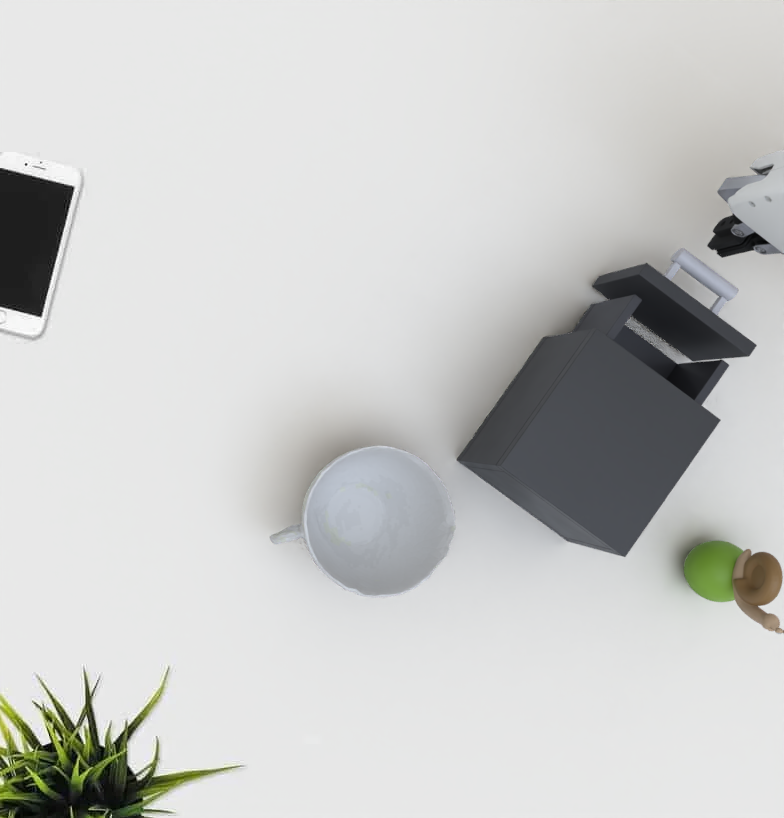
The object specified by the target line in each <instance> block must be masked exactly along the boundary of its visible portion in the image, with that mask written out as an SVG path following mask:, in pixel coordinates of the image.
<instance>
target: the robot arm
mask: <svg viewBox="0 0 784 818" xmlns="http://www.w3.org/2000/svg"><path fill="white" fill-rule="evenodd" d="M749 169H750V170H751V171H753V172H754V173H755V174H754V175H743V176H731V177H726V178H725V179H724V181H723V183H722V184H721V185H720V187H718V189H717V190H716V191H717V194H718V196H719V197H721V198H722V199H723V201H724V202H725V203H726V204H727V205H728V207H729V210H730V211H731V214H732V215H728V216H726V217H725V216H724V217H723V218H722V219H720V220H719V221H718V222H717V224H716V225H715V226H714V227H713V228H712V233H713V234H714V235H713V237H712V238H711V239H710V240H709V242H708V243H707V245H706V246H707V248H708V249H710V250H711V251H716V255H718V256H719V257H720V258H727V257H731V256H734V255H738V254H744V253H748V252H752V251H755V253H757V254H760V255H764V256H765V255H766V256H768V255H777V254H781V255H784V148H783V149H780V150H777V151H774V152H771V153H768V154H765V155H762V156H760V157H758V158H756V159H755V160H754V161H753V162H752V164H751V165H750V166H749Z"/></svg>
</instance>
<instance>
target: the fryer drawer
mask: <svg viewBox="0 0 784 818" xmlns="http://www.w3.org/2000/svg"><path fill="white" fill-rule="evenodd" d="M670 261H671V264H670V265H669V267H668V268H667V269H666V271H665V272H664V274H663V273H661V272H660V271H658V270H657V269H656V268H654V267H653V266H651V264H649V263H648V262H645V263H641V264H638V265H634V266H631V267H627V268H624V269H623V268H622V269H620V270H616V271H612V272H609V273H605V274H601V275H598V277H597V278H596V280H594V282H593V283H592V285H591V287H592V288H593V289H594V290H596V291H597V292H599V293H600V294H601V295H603V296H604V297H605V298H607V299H608V300H604V301H598V302H594V303H591V304H590V305H589V306H588V308H587V310H586V311H585V312H584V314H583V315H582V316H581V318H580V320H579V321H578V322H577V324H576V325H575V326H574V328H573V329H572V331H571V332H577V331H583V330H589V329H596V328H598V329H599V330H600V331H602V332H603V333H604V334H606V335H607V336H608V337H610V338H611V339H612V340H614V341H615V342H616V343H618V344H619V345H620V346H622V347H623V348H625V349H626V350H627V351H629V352H630V353H631V354H633V355H634V356H635V357H637V358H638V359H639V360H641V361H642V362H643V363H645V364H646V365H647V366H649V367H650V368H652V369H653V370H654V371H656V372H657V373H658V374H660V375H661V376H662V377H664V378H665V379H666V380H668V381H669V382H670V383H672V384H673V385H674V386H676V387H677V388H678V389H680V390H681V391H683V392H684V393H685V394H687V395H688V396H689V397H691V398H692V399H693V400H695V401H696V402H697V403H699V404H700V405H701V406H703V404H704V403H705V401H706V400H707V399H708V397H709V396H710V394H711V393H712V391H713V390H714V389H715V387H716V385H717V384H718V383H719V381H720V380H721V379H722V377H723V376H724V374H725V373H726V372H727V370H728V369H729V367H730V364H729V363H728V362H726V361H725V359H726V360H727V359H736V358H747V357H750V356H751V355H752V354H753V352H754V350H755V349H756V348H757V344H756V343H755V342H754V341H752V340H750V338H748V337H747V336H745V335H744V334H743V333H741V332H740V331H739V330H738V329H736V328H734V326H732V325H731V324H729V323H728V322H727V321H726V320H725V319H723V318H721V317H720V316H719V313H720V312H721V310H722V309H723V308H724V306H725V304H727V302H730V301H732V300H733V299H734V298H735V297H736V296H737V295H738V293H739V288H738V287H737V286H735V285H734V284H733V283H731V282H730V281H729V280H727V279H726V278H725V277H723V276H722V275H721V274H720V273H718V272H717V271H715V270H714V269H713V268H711V267H710V266H708V265H707V264H706V263H704V262H703V261H702V260H701V259H699V258H698V257H696V256H695V255H694V254H693V253H691V252H690V251H688V250H687V249H686V248H684V247H680V248H679V249H677V250H676V251H675V252H674V253H673V254H672V255H671V258H670ZM679 270H683V271H684V272H685V273H687V274H688V275H689V276H691V277H692V278H693V279H695V280H696V281H697V282H698V283H700V284H701V285H703V287H705V288H707V289H708V290H709V291H711V292H712V293H713V294H714V295H716V296H717V298H716V300H715V301H714V302H713V304H712V305H711V306H710V308H708V307H707V306H705V305H704V304H703V303H701V302H700V301H699V300H697V299H696V298H695V297H693V296H692V295H690V294H689V293H688V292H687V291H685V290H684V289H682V288H681V287H680V286H678V285H677V284H676V283H674V282H673V281H672V280H673V279H674V277H675V275H676V274H677V273H678V271H679ZM631 317H632V318H634V320H636V321H637V322H639V323H640V324H642V325H643V326H644V327H646V328H647V329H648V330H650V331H651V332H652V333H654V334H656V336H658V337H659V338H661V340H663V341H664V342H665V343H667V344H669V346H671V347H673V348H674V349H675V350H676V351H678V352H679V353H681V354H682V355H683V356H685V357H686V358H687V359H688V360H690V361H691V362H680V363H677V362H676V361H675V360H673V358H671V357H669V356H668V355H666V354H665V353H664V352H662V351H661V350H660V349H658V348H657V347H656V346H654V345H653V344H651V343H650V342H649V341H648V340H646V339H645V338H643V337H642V336H641V335H639V334H638V333H637V332H635V331H634V330H633V329H632V328H631V327H629V326H627V325H626V324H627V322H628V321H629V319H630V318H631Z"/></svg>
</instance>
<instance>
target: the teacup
mask: <svg viewBox="0 0 784 818" xmlns="http://www.w3.org/2000/svg"><path fill="white" fill-rule="evenodd" d="M455 513H456V512H455V510H454V506H453V504H452V499H451V496H450V494H449V491H448V489H447V487H446V485H445V484H444V482H443V481H442V479H441V478H440V476H439V475H438V474H437V473H436V472H435V471H434V470H433V469H432V468H431V466H430V465H429V464H428V463H427V462H425V461H424V460H423V459H422V458H420V457H419V456H418V455H416V454H414V453H413V452H410V451H408V450H404V449H402V448H398V447H393V446H389V445H370V446H364V447H359V448H354V449H352V450H349V451H347V452H345V453H343V454H340V455H338V456H336V458H334V459H333V460H331V461H329V462H328V463H327V464H325V466H324V467H322V469H321V470H320V471H319V472H318V473H317V474H316V475H315V476H314V478H313V479H312V481H311V483H310V485H309V487H308V489H307V491H306V493H305V496H304V499H303V502H302V507H301V517H300V518H301V523H298V524H292V525H289V526H287V527H286V528H284V529H282V530H280V531H278V532H275V533H273V534H270V535H269V540H270V541H271V543H272V544H274V545H280V544H286V543H290V542H292V541H295V540H298V539H303V541H304V543H305V545H306V548H307V551H308V553H309V556H310V557H311V559H312V560H313V562H314V563H315V565H316V566H317V567H318V568H319V570H320V571H321V572H322V573H323V574H324V575H325V576H326V577H327V578H328V579H329V580H331V581H332V582H333V583H335V584H336V585H338V586H339V587H341V589H343V590H345V591H349V592H350V593H354V594H355V595H357V596H360V597H363V598H375V599H376V598H389V597H397V596H400V595H402V594H406V593H408V592H410V591H412V590H414V589H416V588H418V586H420V585H421V584H422V583H425V582H426V581H427V580H429V579H430V578H431V576H432V575H433V573H434V572H435V571H436V569H437V568H438V567H439V565H440V564H441V563H442V562H443V560H445V558H446V557H447V556H448V554H449V551H450V546H451V543H452V541H453V539H454V536H455V535H454V534H455V531H456V528H457V527H456V515H455Z"/></svg>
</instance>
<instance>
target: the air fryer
mask: <svg viewBox="0 0 784 818" xmlns="http://www.w3.org/2000/svg"><path fill="white" fill-rule="evenodd" d="M483 420H484V421H482V423H481V425H480V426H479V427H478V429H477V430H476V432H475V433H474V434H473V436H472V437H471V438H470V440H469V442H468V443H467V444H466V446H465V447H464V449H463V450H462V451H461V453H460V454H459V456H458V457H457V459H456V461H457V462H458V463H460V464H461V465H462V466H463V467H465V468H466V469H468V470H470V472H472V473H473V474H475V475H476V476H477V477H478V478H480V479H481V480H483V481H484V482H486V483H487V484H488V485H490V486H491V487H493V488H494V489H495V490H497V491H498V492H499V493H501V494H502V495H503V496H504V497H506V498H507V499H509V500H511V501H512V502H513V503H514V504H516V505H517V506H519V508H521V509H523V510H524V511H525V512H526V513H528V514H529V515H530V516H532V517H534V518H535V519H536V520H538V521H539V522H540V523H541V524H543V525H545V526H546V527H547V528H549V529H550V530H551V531H552V532H554V533H555V534H557V535H558V536H559V537H561V538H562V539H564V540H565V541H566V542H568V543H571V544H575V545H579V546H583V547H586V548H590V549H593V550H597V551H600V552H605V553H609V554H611V555H616V556H620V557H623V558H626V557H627V555H628V553H630V551H631V549H632V548H633V547H634V545H635V544H636V542H637V541H638V539H639V538H640V537H641V535H642V534H643V533H644V531H645V530H646V529H647V527H648V525H649V524H650V522H651V520H653V518H654V517H655V516H656V514H657V512H658V511H659V509H660V508H661V507H662V506H663V504H664V502H665V501H666V499H667V498H668V496H669V495H670V494H671V493H672V491H673V489H675V486H676V485H677V484H678V482H679V481H680V479H681V478H682V476H683V475H684V473H685V472H686V471H687V469H688V468H689V467H690V465H691V464H692V462H693V461H694V459H695V458H696V456H698V454H699V453H700V451H701V450H702V448H703V447H704V445H705V444H706V443H707V440H709V438H710V436H711V435H712V433H713V432H714V430H715V429H716V428H717V427H718V425H719V423H720V422H721V418H719V417H718V416H716V415H715V414H714V413H712V412H711V411H709V410H708V409H707V408H706V407H704V406H703V405H702V406H701V405H700V404H699V403H697V402H696V401H695V400H693V399H692V398H691V397H689V396H688V395H687V394H685V393H684V392H683V391H681V390H680V389H678V388H677V387H676V386H674V385H673V384H672V383H670V382H669V381H668V380H666V379H665V378H664V377H662V376H661V375H660V374H658V373H657V372H656V371H654V370H653V369H652V368H650V367H649V366H647V365H646V364H645V363H643V362H642V361H641V360H639V359H638V358H637V357H635V356H634V355H633V354H631V353H630V352H629V351H627V350H626V349H625V348H623V347H622V346H620V345H619V344H618V343H616V342H615V341H614V340H612V339H611V338H610V337H608V336H607V335H606V334H604V333H603V332H602V331H600V330H599V329H598V328H596V329H589V330H583V331H577V332H572V331H571V332H566V333H560V334H554V335H549V336H543V337H542V338H541V339H540V341H539V342H538V344H537V345H536V347H535V348H534V349H533V351H532V353H531V354H530V355H529V356H528V358H527V359H526V361H525V362H524V363H523V365H522V367H521V368H520V369H519V371H518V372H517V374H516V375H515V377H514V378H513V379H512V381H511V382H510V383H509V385H508V387H507V388H506V389H505V391H504V392H503V394H502V395H501V396H500V397H499V399H498V400H497V402H496V403H495V405H494V406H493V408H492V409H491V411H490V412H489V413H488V415H487V416H486V417H485V419H483Z"/></svg>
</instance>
